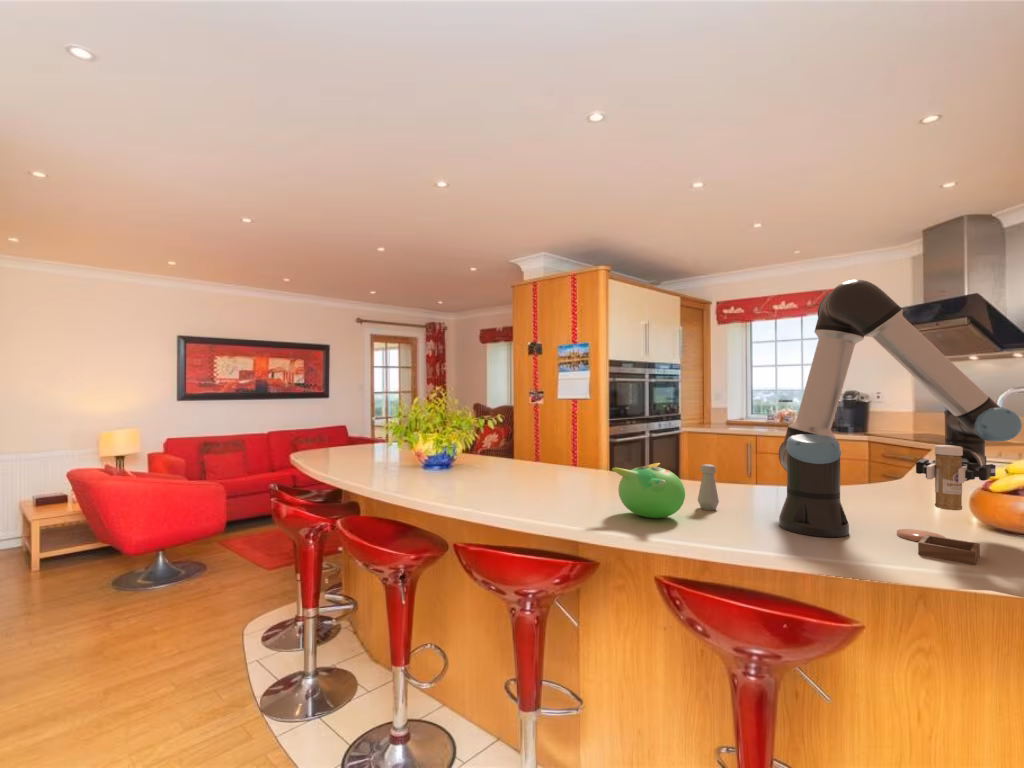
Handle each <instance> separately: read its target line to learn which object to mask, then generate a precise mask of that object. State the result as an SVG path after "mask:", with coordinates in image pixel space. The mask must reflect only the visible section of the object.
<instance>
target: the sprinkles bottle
mask: <svg viewBox="0 0 1024 768" xmlns="http://www.w3.org/2000/svg"><path fill="white" fill-rule="evenodd" d="M962 455H963V448H962V447H960V446H952V445H945V444H937V445H936V444H935V445H934V457H935V458H934V460H936V463H935V465H936V466H935V477H934V491H935V503H934V506H935V507H936V508H937V509H941V510H947V511H962V509H963V503H962V495H963V483H958V469H959V468H961V467H962V459H961V458H962Z"/></svg>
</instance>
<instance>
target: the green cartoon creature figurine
mask: <svg viewBox="0 0 1024 768" xmlns="http://www.w3.org/2000/svg"><path fill="white" fill-rule="evenodd" d="M660 465H661V463H660V462H655V463H652V464H651V463H650V464H648V465H644V466H639V467H634V468H633V469H627V468H626V469H625V468H621V467H612V469H611V470H612V471H613V472H614V473H616V474H618V475H619V476H621V479H620V481H619V482H618V483H619V484H618V496H619V499H620V501H621V503H622V504H623V506H624V507H625V508H626V509H627V510H629V511H630V512H632V513H633V514H635V515H637V516H641V517H643V518H648V519H661V518H666V517H669V516H672V515H674V514H676V513H677V512H678V511H679V510H680V509H681V508H682V507H683V505H684V502H685V498H686V490H685V486H684V484H683V482H682V480H681V479H680V478H679V476H677V475H676V474H675V473H674V472H672V471H671V470H669V469H666V468H662V467H660Z"/></svg>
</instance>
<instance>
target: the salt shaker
mask: <svg viewBox="0 0 1024 768" xmlns="http://www.w3.org/2000/svg"><path fill="white" fill-rule="evenodd" d="M699 470H700V471H699V472H701V473H702V475H701V481H700V485H699V490H698V491H699V492H698V497H697V502H698V504H699V506H700V509H701V510H705V511H715V510H717V507H718V505H719V502H720V500H719V499H720V498H719V494H718V491H717V484H716V478H715V473H716V472H717V468H716V466H715V465H713V464H709V463H706V464H701V465H700V468H699Z"/></svg>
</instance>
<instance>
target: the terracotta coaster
mask: <svg viewBox="0 0 1024 768" xmlns="http://www.w3.org/2000/svg"><path fill="white" fill-rule="evenodd" d="M896 535H897V536H898V537H899V536H900V538H902V539H904V538H905V540H908V539H909V541H912V540H913V542H917V543H918V542H919V541H920V540H921V539H922V538H923V537H924V536H925V535H931V536H937V537H943V538H946V536H944V535H942V534H938V533H936V532H932V531H927V530H922V529H911V528H902V529H901V528H900V529H897V530H896Z"/></svg>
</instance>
